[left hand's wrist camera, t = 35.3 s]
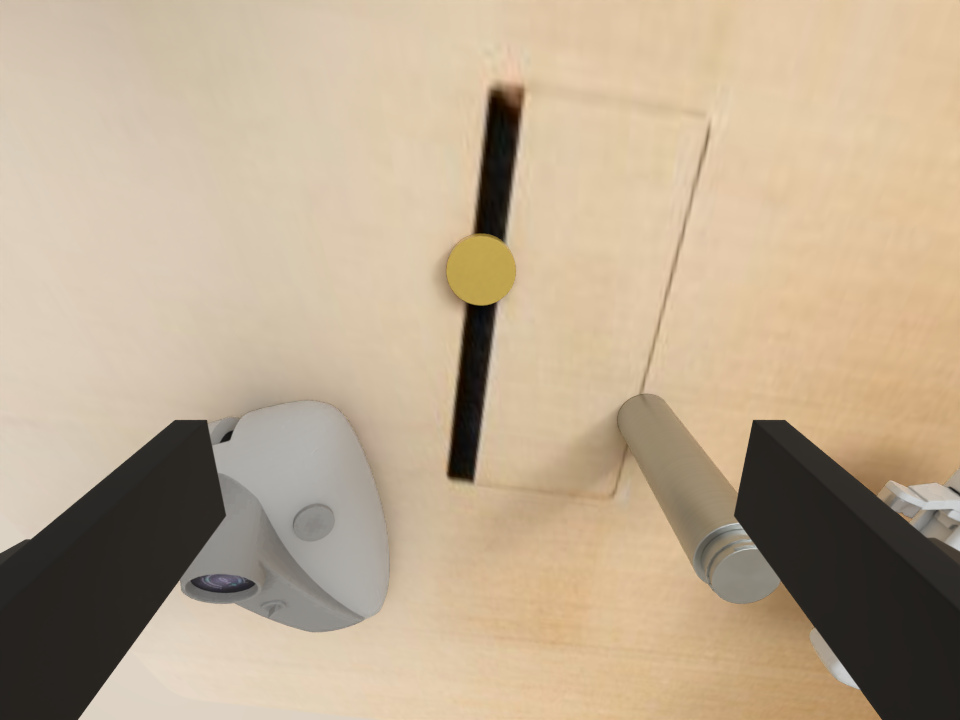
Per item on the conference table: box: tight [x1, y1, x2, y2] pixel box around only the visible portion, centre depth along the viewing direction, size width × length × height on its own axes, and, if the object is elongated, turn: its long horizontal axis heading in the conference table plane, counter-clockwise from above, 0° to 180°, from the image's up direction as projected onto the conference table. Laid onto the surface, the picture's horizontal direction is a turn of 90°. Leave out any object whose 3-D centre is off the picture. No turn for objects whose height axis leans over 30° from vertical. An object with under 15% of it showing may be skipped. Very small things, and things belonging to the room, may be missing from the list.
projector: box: [180, 400, 390, 632], centre depth 40 cm, size 22×23×15 cm
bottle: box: [617, 394, 781, 604], centre depth 36 cm, size 4×4×19 cm
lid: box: [446, 233, 516, 305], centre depth 40 cm, size 5×5×2 cm
